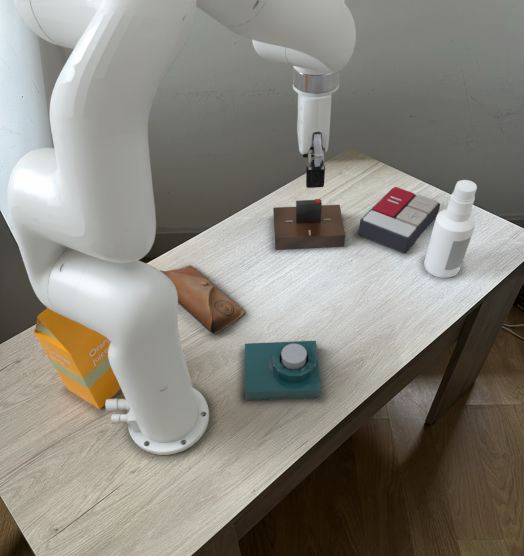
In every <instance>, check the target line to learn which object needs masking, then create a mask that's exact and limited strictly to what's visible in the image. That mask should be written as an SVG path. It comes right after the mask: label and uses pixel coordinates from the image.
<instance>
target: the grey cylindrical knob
mask: <svg viewBox="0 0 524 556" xmlns="http://www.w3.org/2000/svg"><path fill="white" fill-rule="evenodd" d="M281 359H282V364H283V365H284V366H285V367H286V368H288V369H291V370H297V369H300V368H302V367H303V366H304V365H305V364H306V360H307V352H306V349H305V348H304V347H303V346H301V345H299V344H289V345H287V346H285V347H284V348H283V350H282V352H281Z"/></svg>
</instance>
